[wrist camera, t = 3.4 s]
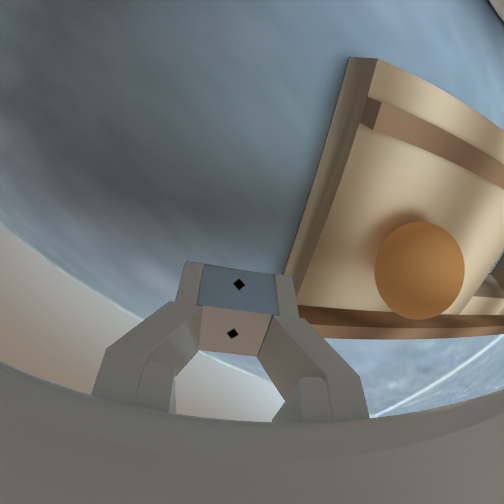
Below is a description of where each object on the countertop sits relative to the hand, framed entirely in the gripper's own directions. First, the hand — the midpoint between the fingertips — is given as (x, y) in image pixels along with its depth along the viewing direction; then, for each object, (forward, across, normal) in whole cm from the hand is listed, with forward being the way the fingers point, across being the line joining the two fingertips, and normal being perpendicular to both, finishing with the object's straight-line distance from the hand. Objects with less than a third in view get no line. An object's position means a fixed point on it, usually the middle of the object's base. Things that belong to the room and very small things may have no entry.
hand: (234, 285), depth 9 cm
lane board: (+7, -13, 0) cm, 15 cm away
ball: (+2, -8, 0) cm, 8 cm away
